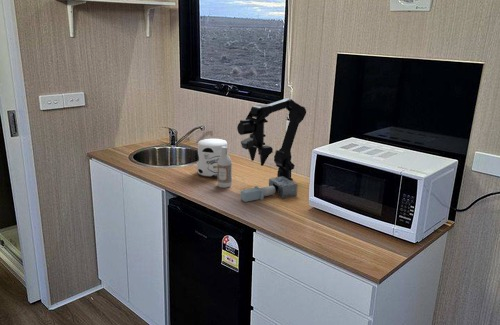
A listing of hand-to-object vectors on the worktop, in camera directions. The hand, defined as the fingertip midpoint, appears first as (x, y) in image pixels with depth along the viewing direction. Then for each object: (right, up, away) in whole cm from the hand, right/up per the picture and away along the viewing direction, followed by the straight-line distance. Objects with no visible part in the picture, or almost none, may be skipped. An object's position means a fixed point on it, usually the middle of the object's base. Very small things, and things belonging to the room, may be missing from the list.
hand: (257, 163), depth 215 cm
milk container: (-23, -6, +20) cm, 31 cm away
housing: (+12, -14, -5) cm, 19 cm away
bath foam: (-16, -11, +4) cm, 20 cm away
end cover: (0, -16, -12) cm, 20 cm away
